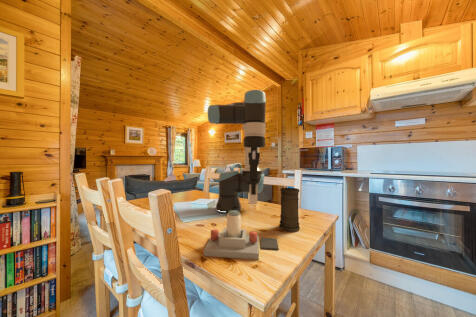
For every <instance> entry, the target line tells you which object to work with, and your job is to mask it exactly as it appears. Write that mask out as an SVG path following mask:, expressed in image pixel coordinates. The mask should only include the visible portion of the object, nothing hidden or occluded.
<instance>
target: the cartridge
mask: <svg viewBox="0 0 476 317" xmlns="http://www.w3.org/2000/svg"><path fill="white" fill-rule="evenodd" d="M241 227H242V214H241V212H240V211H236V210H231V211H229V212H228V213H226V228H227V237H235V238H241V229H242V228H241Z"/></svg>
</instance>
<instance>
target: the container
mask: <svg viewBox="0 0 476 317" xmlns="http://www.w3.org/2000/svg"><path fill="white" fill-rule="evenodd" d="M279 191H280V220H279V225H278V226H279V228H280V229H281V230H282V231H286V232H290V233H291V232H292V233H293V232H294V233H295V232H298V231H300V229H301V228H300V222H299V219H300V217H299V200H300V199H299V195H300V189H299V188H294V187H280V190H279Z"/></svg>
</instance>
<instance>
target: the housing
mask: <svg viewBox="0 0 476 317" xmlns="http://www.w3.org/2000/svg"><path fill="white" fill-rule="evenodd" d="M247 230H248V229H247V228H241V238H235V237H227V227H226V228H225V227H224V228H223V229H222V230H221V231H222V232H219V235H218V240H211V237H209V240H208V242H207V244H206V245H205V247H204V249H203V256H205V257H212V258H213V257H215V258H216V257H217V258H228V259H231V258H233V259H243V260H259V259H260V254H259V252H260V244H259V243H260V240H259V239H260V237H259V234H257V242H255V243H252V242H250V241H249V233H248V232H247ZM247 233H248V234H247Z"/></svg>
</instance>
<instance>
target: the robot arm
mask: <svg viewBox="0 0 476 317" xmlns="http://www.w3.org/2000/svg"><path fill="white" fill-rule="evenodd" d="M266 96H267V95H266V92H264V91H263V90H260V89H251V90H247V91H246V92H244V96H243V97H244V98H243V102H242V101H241V102H231V103H227V104H211V105H209V106H208V108H207V120H208V122H209V123H210V124H215V125H223V124H224V125H227V124H229V125H231V124H232V125H233V124H234V125H242V127H241V129H242V130H243V136H244V137H243V148H244V167H243V169H241V172H239V170H228V171H222V172H220V173H219V177H218V199H217V202H216V205H215V210H216V209H217V210H220V211H226V212H229V211H231V210H236V211H239V212H241V211H242V205H241V201H240V199H239V193H241V194H243V193H244V194H246V193H247V194H248V195H249V196H248V198H249V199H248V200H249V203H248V204H249V205H258V194H260V193H262V191H263V189H264V183H265V182H264V181H265V173H263V172H262V171H263V170H262V169H261V168H260V157H261V154H260V153H261V152H260V149H261V148H265V147H266V137H265V135H266V110H267V109H266V104H267V100H266V99H267V98H266Z"/></svg>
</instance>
